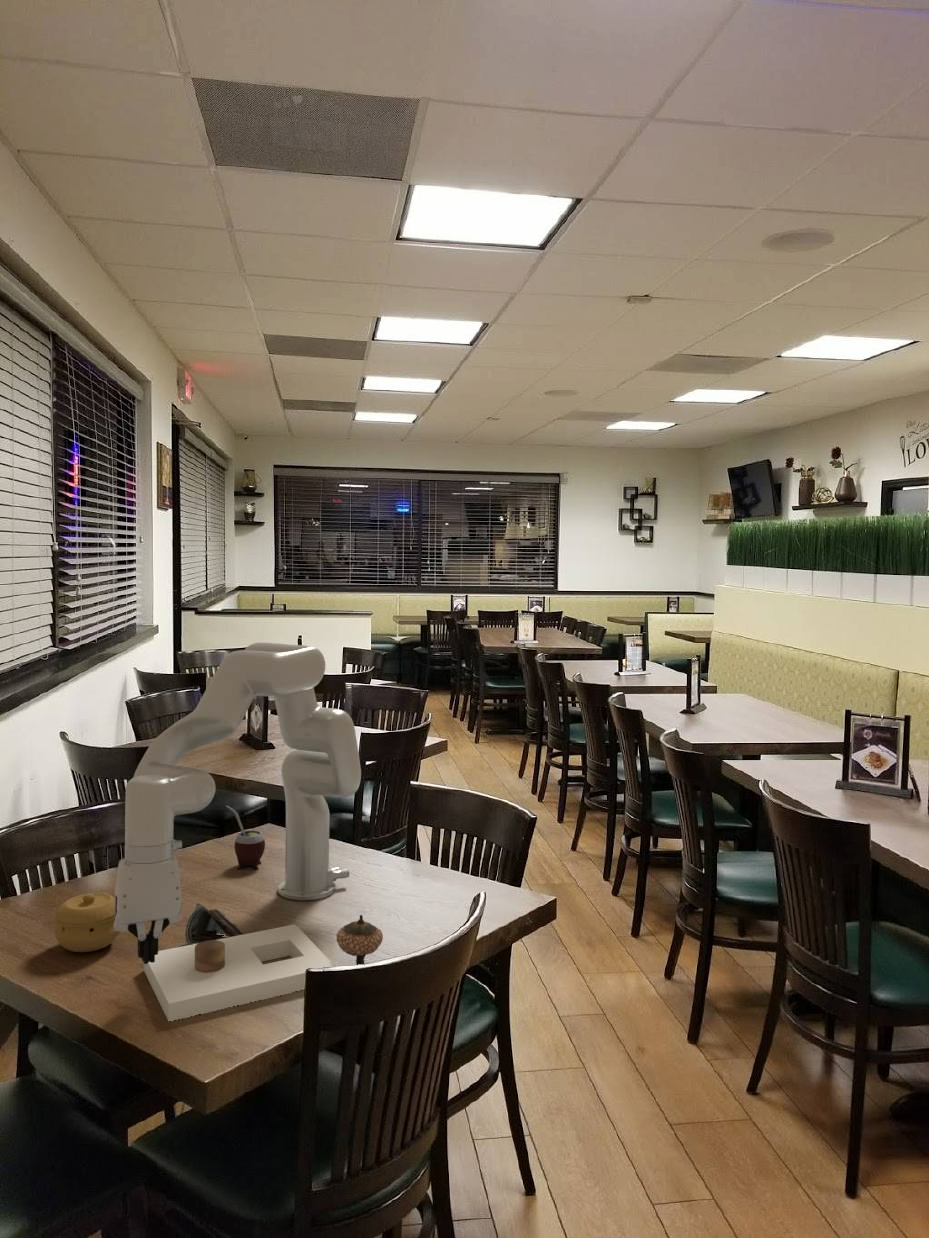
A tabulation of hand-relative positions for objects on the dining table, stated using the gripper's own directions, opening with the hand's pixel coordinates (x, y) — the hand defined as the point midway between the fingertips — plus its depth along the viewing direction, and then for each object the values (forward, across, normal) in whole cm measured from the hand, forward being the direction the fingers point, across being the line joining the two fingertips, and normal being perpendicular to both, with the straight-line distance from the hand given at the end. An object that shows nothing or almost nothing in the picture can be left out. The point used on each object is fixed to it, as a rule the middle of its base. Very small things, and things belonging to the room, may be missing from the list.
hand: (147, 959), depth 146 cm
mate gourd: (+6, -33, -54) cm, 64 cm away
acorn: (+6, -35, +7) cm, 37 cm away
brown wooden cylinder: (+3, -10, 0) cm, 11 cm away
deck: (+6, -15, 0) cm, 17 cm away
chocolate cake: (+6, -17, -17) cm, 25 cm away
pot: (+6, +6, -25) cm, 27 cm away
